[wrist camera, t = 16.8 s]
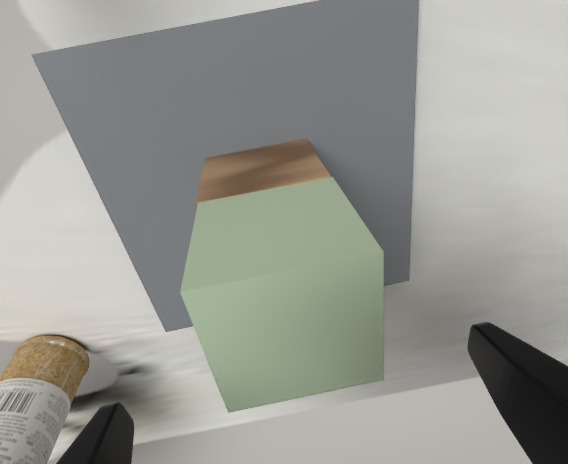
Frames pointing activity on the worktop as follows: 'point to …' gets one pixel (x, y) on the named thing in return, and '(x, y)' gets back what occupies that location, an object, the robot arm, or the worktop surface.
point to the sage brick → (285, 293)
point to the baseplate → (243, 120)
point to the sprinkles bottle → (38, 397)
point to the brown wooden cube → (259, 170)
